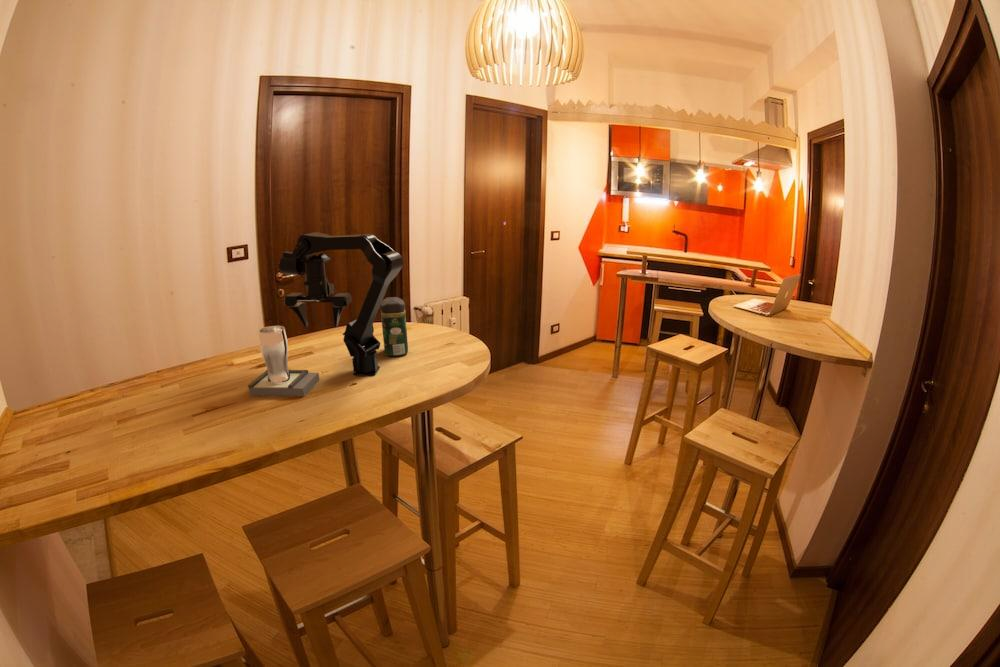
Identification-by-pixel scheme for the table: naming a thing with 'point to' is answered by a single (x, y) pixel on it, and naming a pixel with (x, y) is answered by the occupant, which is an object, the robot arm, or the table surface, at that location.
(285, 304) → the robot arm
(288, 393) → the dock
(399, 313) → the coffee jar
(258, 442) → the table surface
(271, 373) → the beer glass
